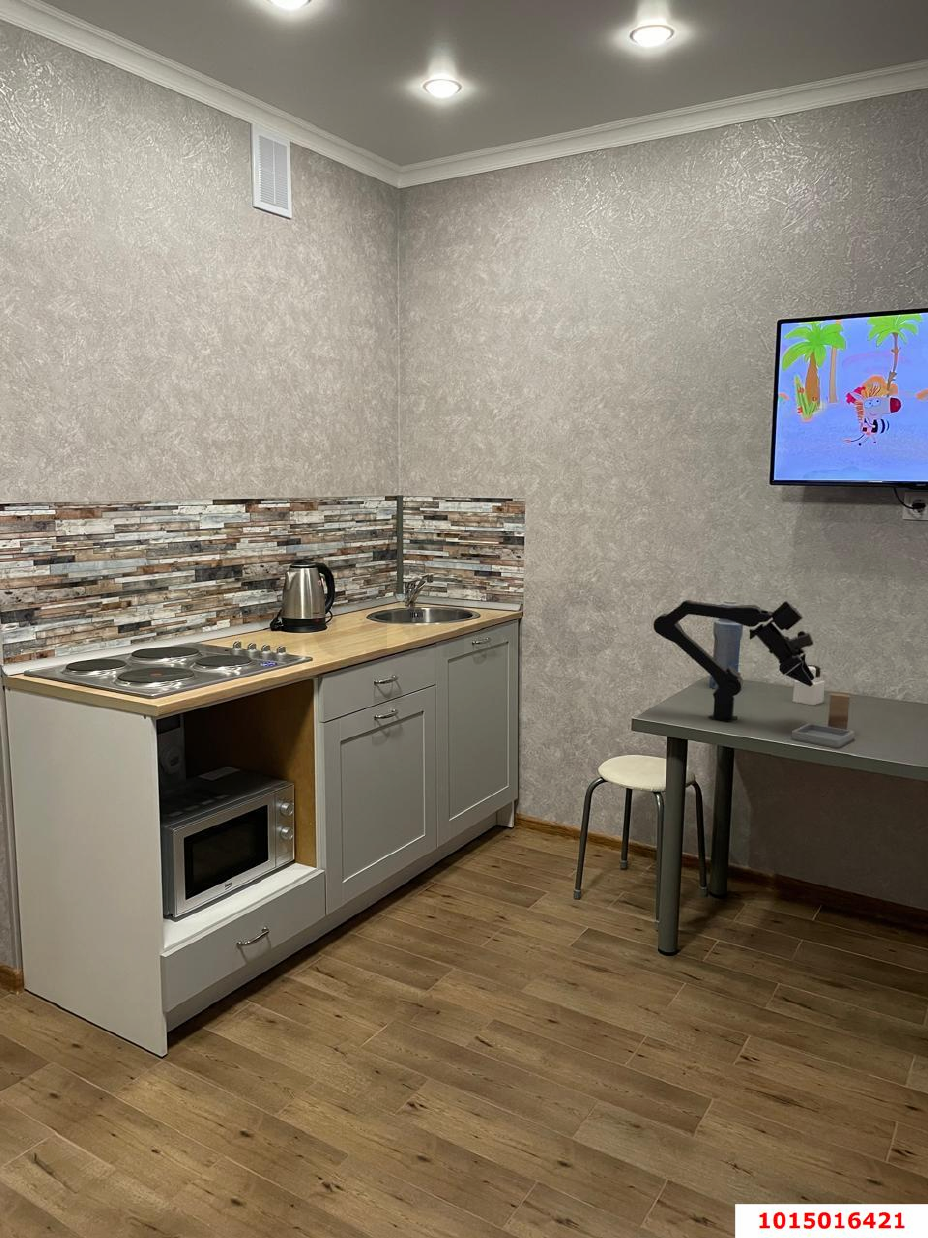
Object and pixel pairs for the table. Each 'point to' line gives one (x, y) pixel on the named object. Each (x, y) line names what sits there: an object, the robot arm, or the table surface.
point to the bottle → (726, 642)
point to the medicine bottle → (809, 689)
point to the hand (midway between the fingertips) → (812, 682)
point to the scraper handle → (838, 710)
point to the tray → (823, 735)
